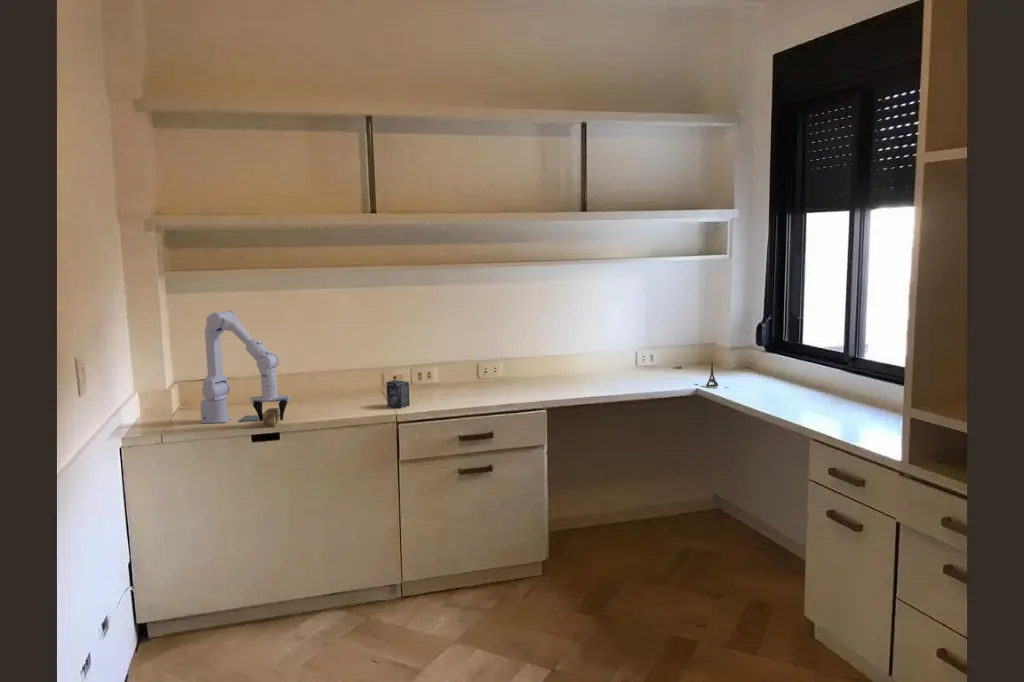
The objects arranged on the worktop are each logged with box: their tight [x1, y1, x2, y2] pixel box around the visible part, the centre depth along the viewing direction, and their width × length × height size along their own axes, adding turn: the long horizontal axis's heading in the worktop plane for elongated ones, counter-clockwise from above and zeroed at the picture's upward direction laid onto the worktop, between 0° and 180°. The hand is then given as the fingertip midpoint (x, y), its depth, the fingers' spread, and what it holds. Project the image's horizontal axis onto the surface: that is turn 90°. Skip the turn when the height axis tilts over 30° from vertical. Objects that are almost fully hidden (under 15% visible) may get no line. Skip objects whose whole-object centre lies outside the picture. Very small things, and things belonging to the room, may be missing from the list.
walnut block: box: [262, 407, 281, 428], centre depth 294 cm, size 4×9×6 cm, turn 4°
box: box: [386, 379, 411, 409], centre depth 320 cm, size 8×6×11 cm
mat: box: [238, 413, 280, 423], centre depth 304 cm, size 14×9×1 cm, turn 94°
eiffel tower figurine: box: [694, 359, 729, 390], centre depth 348 cm, size 15×10×13 cm
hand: (271, 420), depth 294 cm, fingers open, 7 cm apart
